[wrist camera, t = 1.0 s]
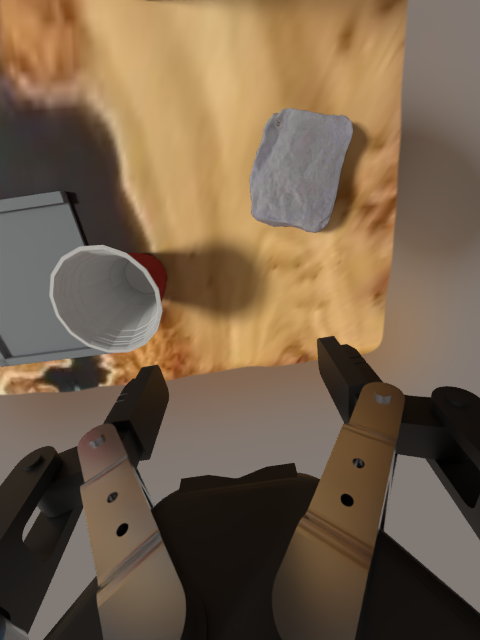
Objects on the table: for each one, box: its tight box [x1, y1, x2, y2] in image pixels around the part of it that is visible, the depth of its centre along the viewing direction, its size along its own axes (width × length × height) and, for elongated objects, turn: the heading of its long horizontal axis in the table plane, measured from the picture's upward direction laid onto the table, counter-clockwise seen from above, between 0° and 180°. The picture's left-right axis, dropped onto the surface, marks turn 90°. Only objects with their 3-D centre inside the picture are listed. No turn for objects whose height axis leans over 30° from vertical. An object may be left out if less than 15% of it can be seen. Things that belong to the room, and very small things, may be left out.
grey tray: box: [0, 191, 109, 367], centre depth 35 cm, size 19×22×1 cm
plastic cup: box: [49, 245, 167, 353], centre depth 30 cm, size 11×11×12 cm
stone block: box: [250, 108, 353, 233], centre depth 29 cm, size 12×5×10 cm
